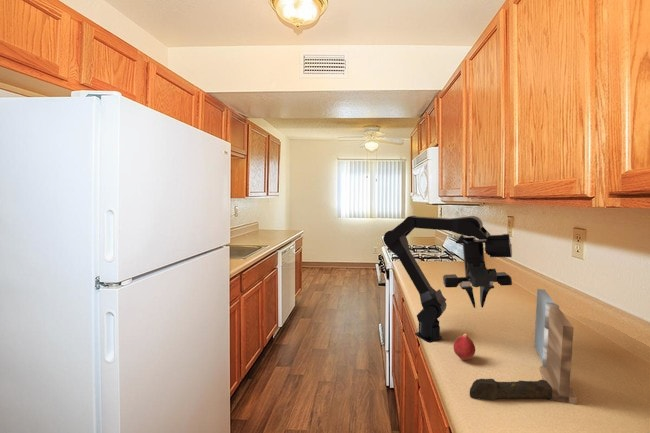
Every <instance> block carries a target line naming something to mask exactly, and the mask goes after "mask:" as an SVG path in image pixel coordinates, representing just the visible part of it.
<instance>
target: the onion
mask: <svg viewBox="0 0 650 433" xmlns="http://www.w3.org/2000/svg"><path fill="white" fill-rule="evenodd" d="M453 352H454V353H455V355H456V356H457V357H458V358H460V359H461V360H462V361H467V360H469V359H471V358H473V357H474V355H475V354H476V346H475V344H474V341H473V340H472V339H471V338H470V337H468V333H463V334H462V335H460V336H458V337H457V338H456V339H455V341H454V342H453Z"/></svg>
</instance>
